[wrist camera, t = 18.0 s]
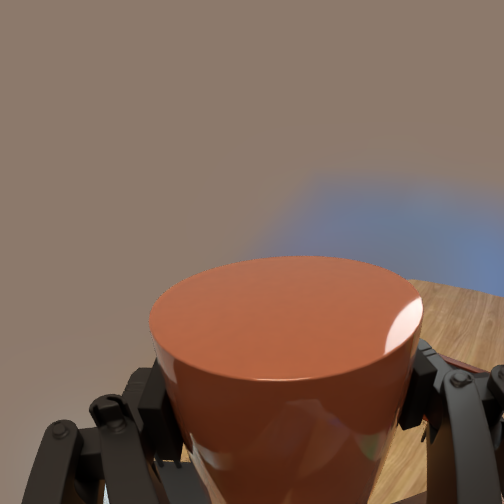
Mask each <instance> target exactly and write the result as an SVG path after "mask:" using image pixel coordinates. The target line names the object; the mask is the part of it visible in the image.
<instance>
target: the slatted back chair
mask: <svg viewBox="0 0 504 504" xmlns="http://www.w3.org/2000/svg"><path fill="white" fill-rule="evenodd" d="M154 458H155V460H156V461H154V462H155V464H156V466H157V469H158V472H159V475H160V478H161V480H162V483H163V486H164V489H165V491H166V494H167V496H168V499H169V502H170V504H208V502H207V499H206V497H205V495H204V493H203V490H202V488H201V485H200V483H199V481H198V478H197V476H196V473H195V471H194V468H193V466H192V463H189V462H180V461H175V460H173V461H174V462H166V461H162V460H160V459H159V457H158V455H157V453H156V452H155V457H154Z"/></svg>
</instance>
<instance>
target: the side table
mask: <svg viewBox="0 0 504 504" xmlns="http://www.w3.org/2000/svg"><path fill="white" fill-rule="evenodd" d="M426 499H427V491H425V492H422V493H420V494H417V495H415V496H412V497H409V498H407V499H404V500H401V501H398V502H395V503H392V504H426Z"/></svg>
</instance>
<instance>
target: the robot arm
mask: <svg viewBox="0 0 504 504" xmlns="http://www.w3.org/2000/svg"><path fill="white" fill-rule="evenodd" d="M89 412H90V414H91V416H92V418H93V420H94V422H95V424H96V426H97V427H94V428H85V429H78V428H77V426H76V424H75V423H73V422H72V421H70V420H58V421H56V422H53V423H52V424H51V425H49V426H48V428H47V429H46V431H45V433H44V436H43V438H42V441H41V444H40V447H39V449H38V452H37V455H36V458H35V461H34V464H33V467H32V470H31V473H30V476H29V479H28V483H27V486H26V489H25V493H24V496H23V500H22V503H21V504H103V499H104V490H105V483H106V489H107V494H108V499H109V504H170V502H169V499H168V496H167V494H166V491H165V489H164V486H163V483H162V480H161V478H160V475H159V472H158V469H157V466H156V464H155V462H154V457H155V452H156V453H157V455H158V457H159V459H160V460H175V461H180V460H181V454H182V447H183V439H182V437H181V434H180V431H179V428H178V425H177V422H176V419H175V416H174V413H173V410H172V407H171V404H170V401H169V398H168V394H167V391H166V388H165V384H164V381H163V378H162V374H161V371H160V367H159V364H158V360H157V357H156V360H155V362H154V365H153V367H152V368H138V369H137V370H136V371H135V372H134V373H133V374H132V375H131V377H130V379H129V381H128V385H126V388H125V391H124V392H123V394H122V396H120V395H116V394H108V395H104V396H101V397H99V398H97V399H96V400H94V401H93V403H92V404H91V405H90V408H89ZM503 413H504V365H497V366H495V367H494V368H493V369H492V370H491V373H490V376H489V377H484V378H474V377H473V375H471V374H470V373H469V372H467V371H464V370H458V369H456V370H453V369H452V368H451V367H450V366H449V365H448V364H447V363H446V362H445V361H444V359H443V358H442V357H441V356H440V355H439V354H437V352H436V351H435V350H434V349H432V347H431V346H430V345H429V344H428V343H427V342H426V341H425V340H423V339H421V338H419V344H418V349H417V354H416V358H415V363H414V367H413V372H412V376H411V380H410V384H409V388H408V392H407V396H406V399H405V403H404V407H403V410H402V413H401V417H400V420H399V424H400V426H401V428H402V430H403V431H404V430H407V429H410V428H413V427H416V426H419V425H420V424H421V421H422V419H423V416H424V415H425V416H426V418H427V419H428V423H427V426H426V428H425V431H424V433H423V436H422V439H421V442H424V439H425V437H426V443H427V499H426V504H502V498H501V493H502V496H503V498H504V419H503V417H502V415H503Z"/></svg>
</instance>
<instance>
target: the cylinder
mask: <svg viewBox="0 0 504 504" xmlns="http://www.w3.org/2000/svg"><path fill="white" fill-rule="evenodd" d="M423 313H424V306H423V302H422V298H421V296H420V294H419V292H418V291H417V290H416V289H415V287H414V286H413V285H412V284H411V283H409V282H408V281H407V280H406V279H404V278H403V277H401V276H399V275H398V274H396V273H394V272H391V271H389V270H387V269H384V268H382V267H379V266H376V265H372V264H369V263H365V262H360V261H355V260H349V259H342V258H334V257H323V256H322V257H321V256H284V257H271V258H262V259H254V260H248V261H242V262H236V263H232V264H227V265H223V266H220V267H216V268H212V269H209V270H206V271H203V272H201V273H198V274H196V275H193V276H191V277H189V278H187V279H184V280H182V281H180V282H179V283H177V284H175V285H174V286H172V287H171V288H169V289H168V290H167V291H165V292H164V293H163V294H162V295H161V296H160V297H159V298H158V299H157V301H156V302H155V303H154V305H153V307H152V309H151V311H150V315H149V328H150V333H151V336H152V340H153V345H154V349H155V352H156V356H157V360H158V364H159V367H160V371H161V374H162V378H163V381H164V384H165V388H166V391H167V394H168V398H169V401H170V404H171V407H172V410H173V413H174V416H175V419H176V422H177V425H178V428H179V431H180V434H181V437H182V439H183V442H184V445H185V448H186V450H187V453H188V456H189V458H190V461H191V463H192V466H193V468H194V471H195V473H196V476H197V478H198V481H199V483H200V485H201V488H202V490H203V493H204V495H205V497H206V499H207V502H208V504H368V502H369V499H370V497H371V495H372V493H373V490H374V488H375V486H376V483H377V481H378V479H379V476H380V474H381V471H382V469H383V466H384V464H385V461H386V458H387V456H388V453H389V450H390V447H391V444H392V442H393V439H394V436H395V433H396V430H397V426H398V423H399V420H400V417H401V413H402V410H403V407H404V403H405V399H406V396H407V392H408V388H409V384H410V380H411V376H412V372H413V367H414V363H415V358H416V354H417V349H418V344H419V338H420V333H421V327H422V321H423Z"/></svg>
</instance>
